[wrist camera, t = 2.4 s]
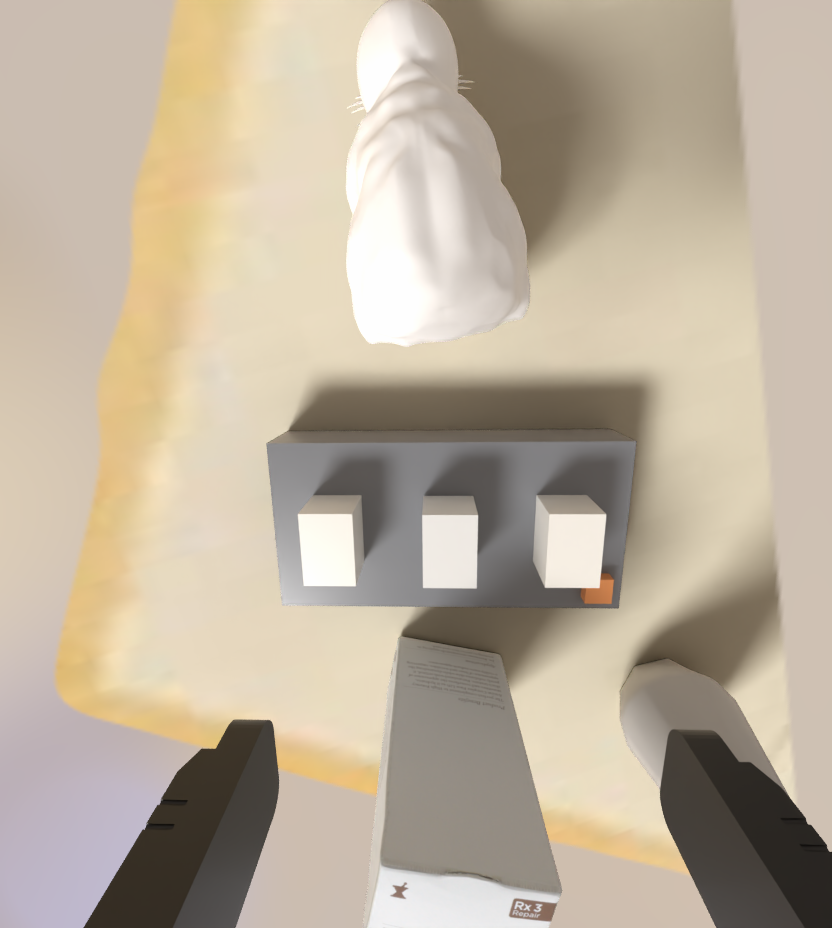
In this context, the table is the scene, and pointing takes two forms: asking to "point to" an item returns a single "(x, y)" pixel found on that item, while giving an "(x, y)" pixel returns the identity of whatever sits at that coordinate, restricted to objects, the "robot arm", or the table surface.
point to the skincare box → (456, 801)
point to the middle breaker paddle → (449, 542)
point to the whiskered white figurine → (426, 193)
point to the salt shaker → (682, 715)
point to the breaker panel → (452, 474)
